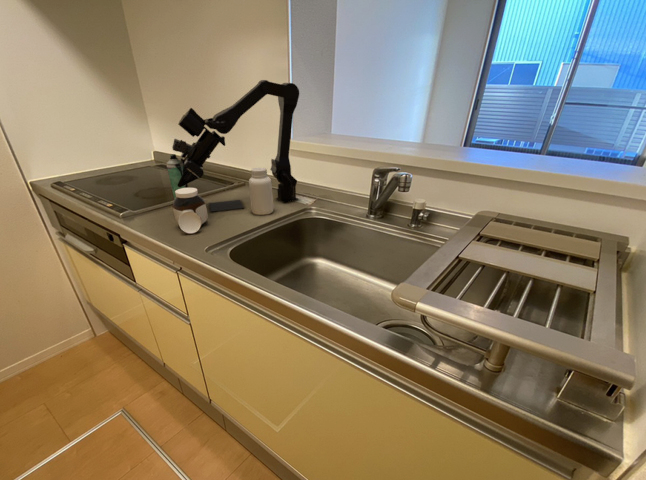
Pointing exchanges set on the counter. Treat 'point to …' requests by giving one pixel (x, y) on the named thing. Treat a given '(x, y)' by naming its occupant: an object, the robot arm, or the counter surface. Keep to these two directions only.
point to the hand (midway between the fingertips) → (177, 183)
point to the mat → (225, 206)
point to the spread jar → (189, 210)
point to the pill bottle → (261, 192)
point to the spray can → (175, 173)
